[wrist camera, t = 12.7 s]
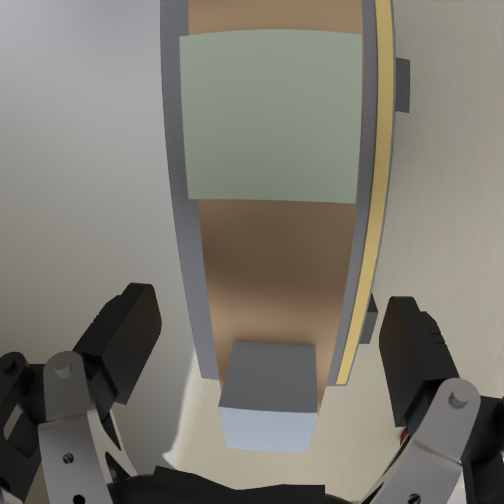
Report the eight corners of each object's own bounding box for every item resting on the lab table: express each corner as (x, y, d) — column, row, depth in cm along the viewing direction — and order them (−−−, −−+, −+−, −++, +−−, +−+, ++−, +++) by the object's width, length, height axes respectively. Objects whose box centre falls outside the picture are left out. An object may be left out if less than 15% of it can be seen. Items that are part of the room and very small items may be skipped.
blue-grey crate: (233, 341, 15) (218, 406, 12) (315, 345, 15) (317, 413, 11) (238, 388, 17) (226, 447, 13) (307, 392, 16) (306, 452, 13)
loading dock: (183, 2, 15) (159, -16, 11) (387, 3, 13) (409, -15, 10) (211, 345, 28) (201, 379, 24) (353, 351, 27) (358, 387, 23)
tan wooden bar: (218, 20, 12) (188, -8, 8) (339, 20, 12) (360, -10, 7) (236, 356, 23) (224, 410, 18) (316, 361, 22) (317, 416, 18)
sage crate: (218, 55, 9) (179, 36, 6) (336, 56, 9) (361, 34, 5) (221, 163, 11) (188, 199, 8) (334, 166, 11) (355, 203, 7)
